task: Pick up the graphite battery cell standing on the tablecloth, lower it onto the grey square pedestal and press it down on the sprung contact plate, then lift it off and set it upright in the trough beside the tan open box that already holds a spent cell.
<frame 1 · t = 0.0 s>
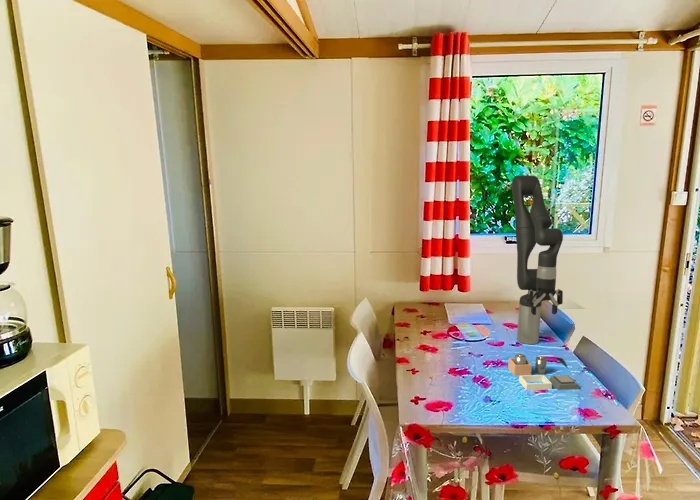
hand: (543, 314, 205), 17 cm above the table, tool pointing down, fingers open, 8 cm apart
grey square pedestal: (563, 386, 179), on the table
tan open box: (519, 373, 189), on the table
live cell: (540, 374, 189), on the table
dark grey curved blade: (555, 367, 196), on the table
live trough: (534, 387, 179), on the table
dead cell: (519, 371, 189), point 1 cm above the table, touching tan open box
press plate: (564, 380, 178), point 3 cm above the table, slide at 0.0 cm
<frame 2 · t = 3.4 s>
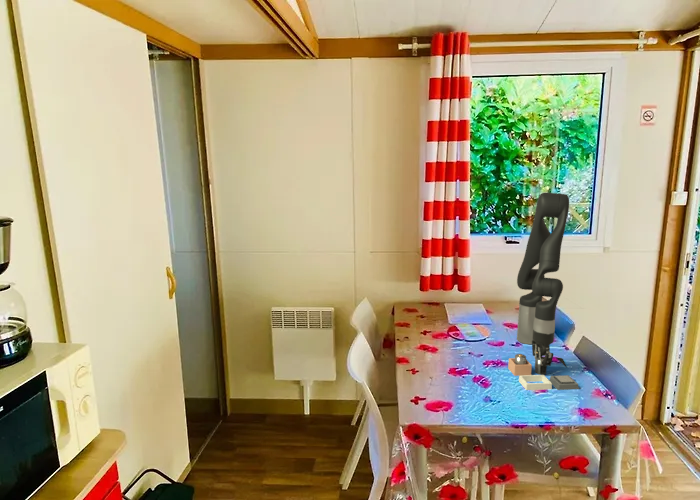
hand: (540, 371, 188), 1 cm above the table, tool pointing down, fingers closed on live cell, 4 cm apart
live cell: (540, 374, 189), on the table, touching gripper
everything else where it was.
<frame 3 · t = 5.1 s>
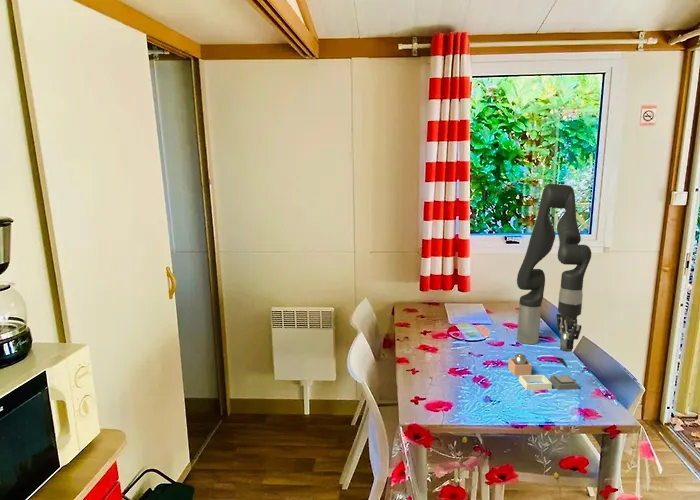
hand: (566, 346, 175), 16 cm above the table, tool pointing down, fingers closed on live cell, 4 cm apart
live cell: (566, 349, 176), point 15 cm above the table, touching gripper
everything else where it was.
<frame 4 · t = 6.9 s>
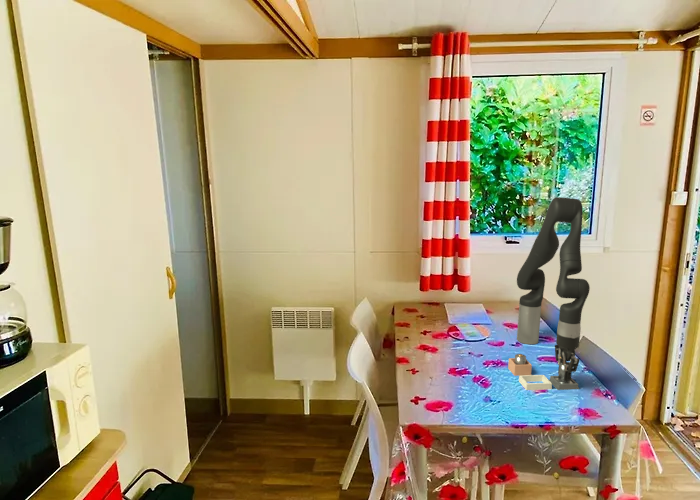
hand: (564, 377, 178), 4 cm above the table, tool pointing down, fingers closed on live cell, 4 cm apart
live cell: (564, 380, 178), point 2 cm above the table, touching gripper, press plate
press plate: (563, 381, 178), point 2 cm above the table, slide at 0.7 cm, touching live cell
everything else where it was.
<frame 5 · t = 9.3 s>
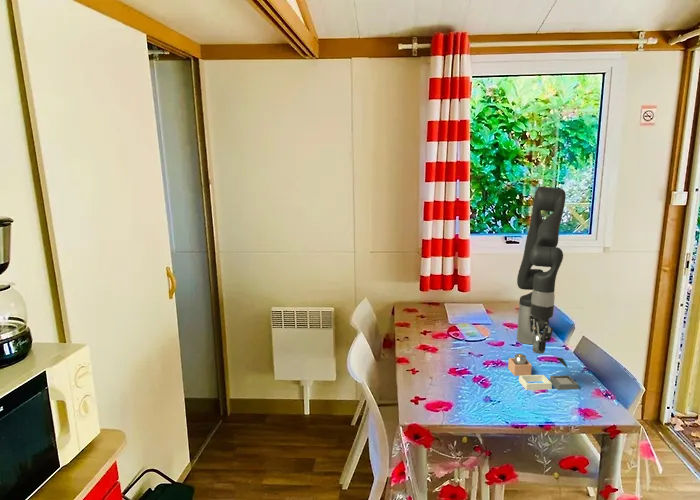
hand: (538, 348, 175), 15 cm above the table, tool pointing down, fingers closed on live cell, 4 cm apart
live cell: (538, 351, 176), point 14 cm above the table, touching gripper
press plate: (563, 382, 178), point 2 cm above the table, slide at 0.8 cm
everything else where it was.
when the fingers open (4 cm above the table, at t = 11.4 s): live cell drops 2 cm, resting on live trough.
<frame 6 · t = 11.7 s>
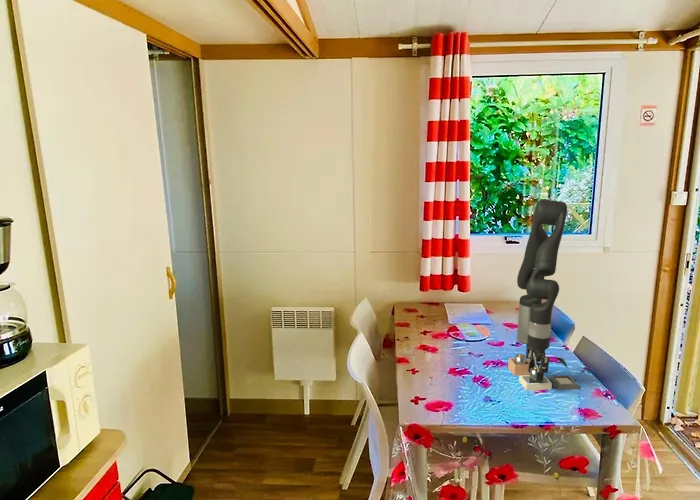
hand: (535, 376, 178), 4 cm above the table, tool pointing down, fingers open, 6 cm apart
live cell: (534, 385, 178), point 1 cm above the table, touching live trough
everything else where it was.
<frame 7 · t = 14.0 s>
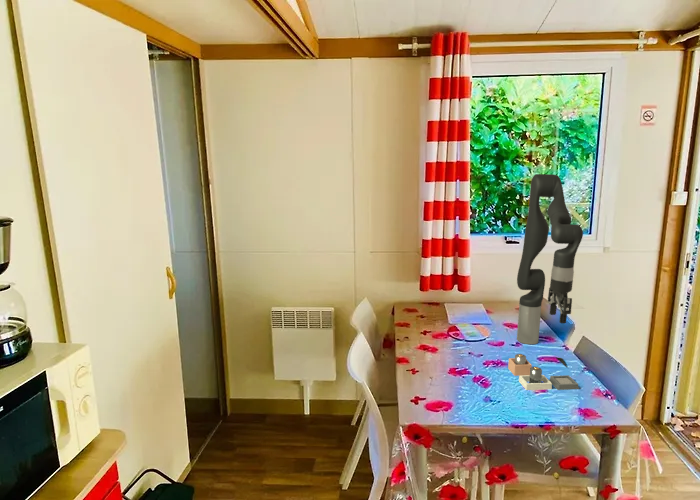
hand: (557, 318, 185), 22 cm above the table, tool pointing down, fingers open, 8 cm apart
nothing on the table moved.
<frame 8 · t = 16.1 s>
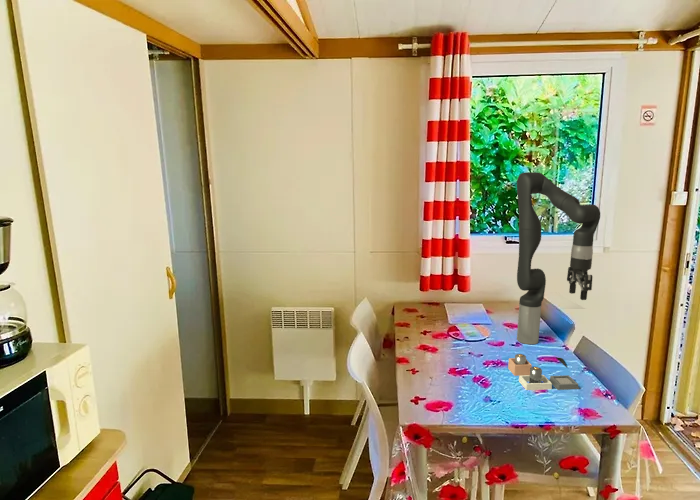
hand: (577, 296, 193), 28 cm above the table, tool pointing down, fingers open, 8 cm apart
nothing on the table moved.
at the end: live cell inside the target area on the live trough (0.0 cm from its centre), point 0.6 cm above the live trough's base; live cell tilted 0°; the gripper is holding nothing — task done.
